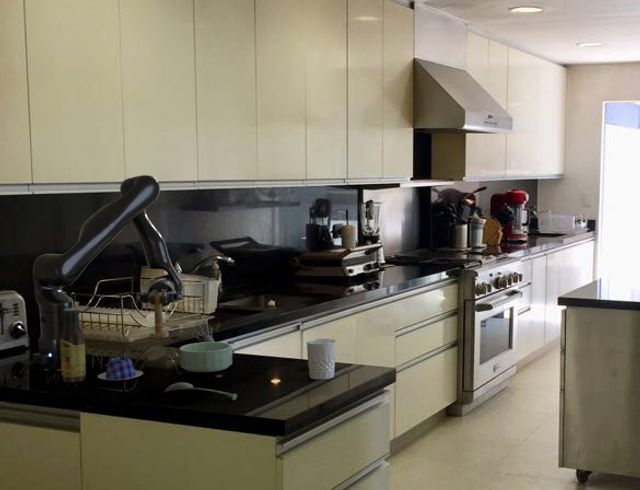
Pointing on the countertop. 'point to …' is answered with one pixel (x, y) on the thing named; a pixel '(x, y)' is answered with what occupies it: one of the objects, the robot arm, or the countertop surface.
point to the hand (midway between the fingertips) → (157, 300)
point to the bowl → (206, 356)
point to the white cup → (321, 358)
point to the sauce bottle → (72, 348)
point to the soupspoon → (190, 387)
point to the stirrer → (158, 318)
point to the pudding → (120, 370)
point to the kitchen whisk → (206, 338)
